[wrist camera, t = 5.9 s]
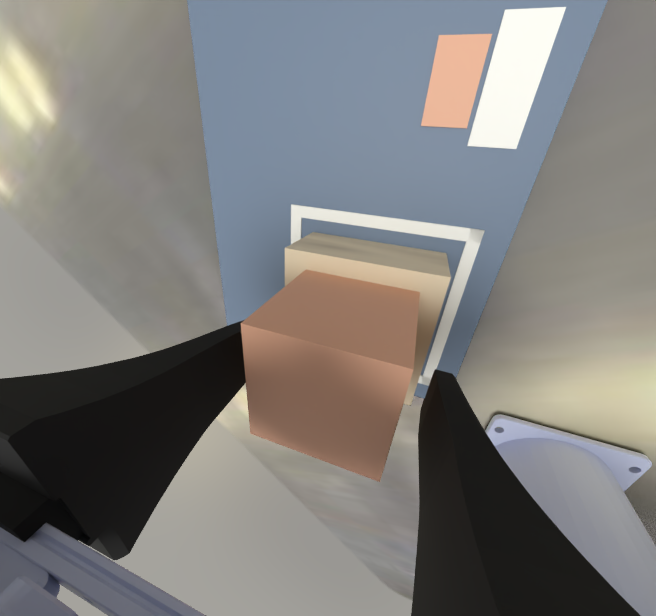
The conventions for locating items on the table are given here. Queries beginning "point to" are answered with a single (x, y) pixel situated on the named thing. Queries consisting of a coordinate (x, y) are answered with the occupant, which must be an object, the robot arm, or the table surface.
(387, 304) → the terracotta cube
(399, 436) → the table surface
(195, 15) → the board
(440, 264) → the beech block
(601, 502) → the robot arm
